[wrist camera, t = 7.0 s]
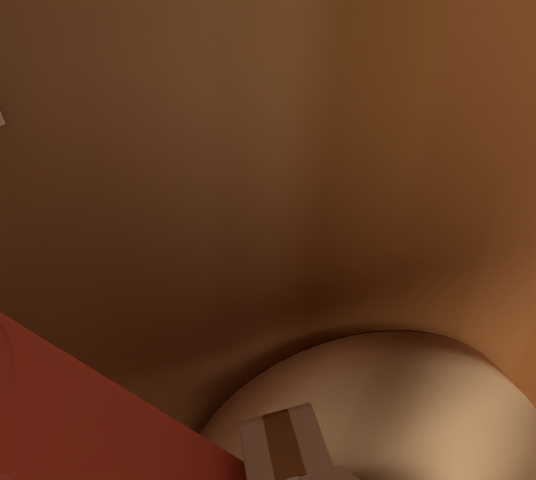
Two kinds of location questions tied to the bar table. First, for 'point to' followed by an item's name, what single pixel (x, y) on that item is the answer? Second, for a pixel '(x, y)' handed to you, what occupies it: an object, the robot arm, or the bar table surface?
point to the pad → (1, 119)
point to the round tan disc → (397, 408)
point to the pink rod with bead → (89, 423)
